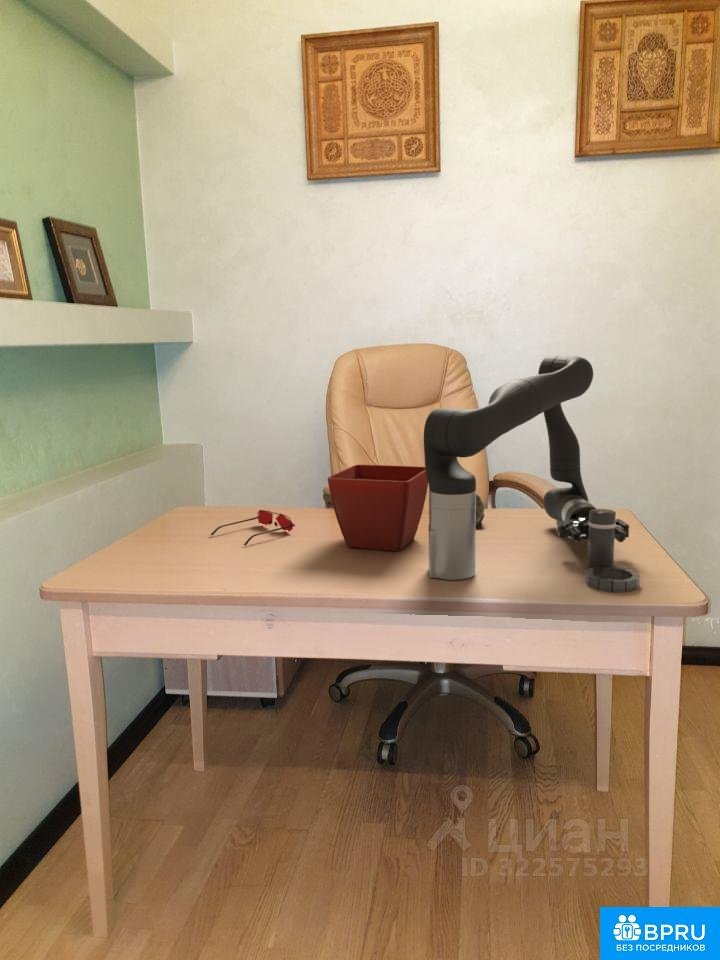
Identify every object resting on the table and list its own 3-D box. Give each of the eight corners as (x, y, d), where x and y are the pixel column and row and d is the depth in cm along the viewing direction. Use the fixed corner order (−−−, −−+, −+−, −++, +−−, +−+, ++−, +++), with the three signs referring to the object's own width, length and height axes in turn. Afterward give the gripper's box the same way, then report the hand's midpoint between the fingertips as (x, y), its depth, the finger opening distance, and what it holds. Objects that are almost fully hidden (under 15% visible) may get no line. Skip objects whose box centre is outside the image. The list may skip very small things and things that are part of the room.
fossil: (452, 529, 184) (443, 490, 187) (440, 538, 192) (432, 500, 195) (492, 524, 187) (484, 486, 189) (479, 533, 195) (471, 496, 198)
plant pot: (357, 529, 188) (355, 463, 185) (431, 535, 181) (431, 466, 178) (327, 550, 170) (325, 477, 167) (409, 557, 164) (408, 481, 161)
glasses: (296, 535, 186) (295, 515, 185) (242, 549, 174) (241, 528, 173) (260, 526, 195) (259, 507, 194) (207, 539, 184) (206, 519, 183)
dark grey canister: (590, 573, 151) (592, 514, 148) (584, 565, 156) (586, 508, 153) (616, 573, 150) (619, 514, 148) (609, 565, 155) (612, 508, 153)
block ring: (593, 592, 140) (593, 581, 140) (581, 576, 149) (581, 566, 149) (644, 592, 139) (645, 581, 139) (629, 575, 149) (630, 566, 148)
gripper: (549, 502, 168) (565, 519, 152) (614, 501, 167) (637, 519, 151) (548, 534, 169) (564, 555, 153) (613, 534, 169) (635, 555, 153)
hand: (600, 537), depth 152 cm, fingers open, 8 cm apart
